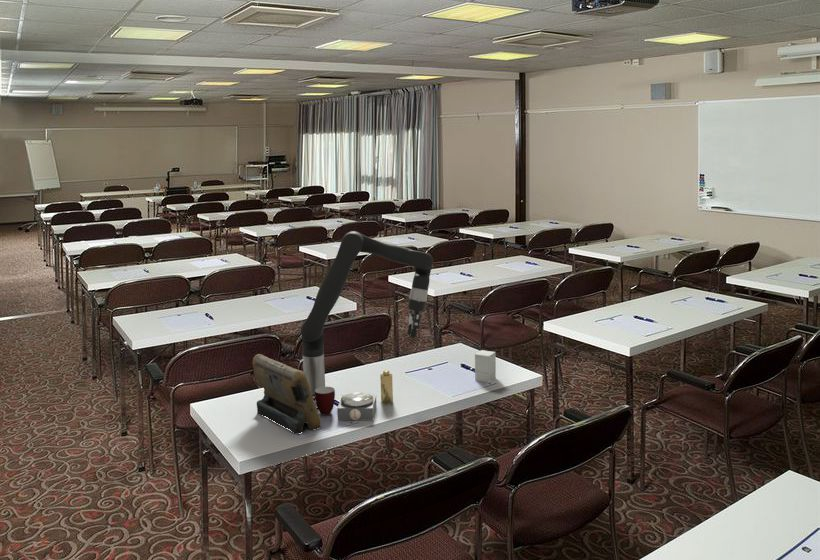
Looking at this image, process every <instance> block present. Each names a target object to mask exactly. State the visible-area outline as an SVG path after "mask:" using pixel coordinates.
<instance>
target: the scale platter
mask: <svg viewBox="0 0 820 560" xmlns="http://www.w3.org/2000/svg"><path fill="white" fill-rule="evenodd" d="M343 395H344V396H343V397H342V396H341V397H340V400H341V403H342V404H343V405H345V406H350V407H361V406H366V405H369V404H371V403H372V402H373V396H372V395H373V394H370V393H367V392H359V391H358V392H350V393H347V394H343Z"/></svg>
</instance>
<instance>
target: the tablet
mask: <svg viewBox="0 0 820 560" xmlns="http://www.w3.org/2000/svg"><path fill="white" fill-rule="evenodd" d="M252 366H253V373H254V376H255V379H256V381H257V384H258V385H259V386H262V387H263V395H264V396H263V397H262V399H259V400H257V401H256V410H257V415H259V414H260V415H259V416H261V415H263V416H266V417H268V418H269V419H271V420H273V421H275V422H276V423H278V424H280V425H282V426H284V427H285V428H288V429H290V430H291V431H292V432H291V431H290V432H291V433H293V432H294V433H293V434H295V433H301V432H303V431H304V428H303V427H304V425H305V424H307V427H308V428H310V429H311V430H313V429H316V430H318V429H317V428H319V429H320V428H322V427H321V423H322V421H321V416H320V414H319V413H320V412H319V410H317V404H316V402H315V401H314V400H313V398H314V395H312V394H311V392H310V386H309V383H308V381H307V378H306V375H305V374H304V373H303V370H299V369H297V368H294V367H293V366H289V365H287V364H285V363H282V362H280V361H278V360H274V359H272V358H269V357H267V356H265V355H264V354H261V353H258V354H256V355H255V356H253V359H252ZM263 416H262V417H263ZM276 423H275V424H276ZM278 424H277V425H278ZM285 428H284V429H285ZM303 433H304V432H303Z"/></svg>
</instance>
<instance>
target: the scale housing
mask: <svg viewBox="0 0 820 560" xmlns="http://www.w3.org/2000/svg"><path fill="white" fill-rule="evenodd" d="M344 395H345V394H343V395H341V398H342V397H343V396H344ZM371 395H372V396H373V402H372V403H371V404H369V405H366V406H361V407H350V406H345V405H343V404H342V403H341V399H340V401H339V403H338V405H337V409H336V410H337V420H338V421H374V418H375V414H376V410H377V394H371Z"/></svg>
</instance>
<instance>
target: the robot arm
mask: <svg viewBox="0 0 820 560" xmlns="http://www.w3.org/2000/svg"><path fill="white" fill-rule="evenodd" d="M359 253H367V254H370V255H375V256H377V257H380V258H383V259H385V260H388V261H391V262H394V263H397V264H403V265H407V266H412V267H413V268H415V269H414V275H413V278H412V284H411V289H410V292H409V297H408V303H407V309H408V310H410V311H409V316H408V319H407V324H408V327H407V332H406V334H407V335H408V336H409V337H410V338H412V339H416V338H417V337H416V336H417V331H418V330H419V328H420V323H421V316H422V315H421V314H420V312H425V311H426V306H427V300H428V294H429V293H428V292H429V287H430V280H431V279H430V278H431V277H430V276H431V272H432V268H433V264H434V258H433V256H432V255H431V254H430V253H427V252H423V251H419V250H413V249H411V248H408V247H405V246H401V245H397V244H393V243H389V242H384V241H381V240H378V239H374V238H372V237H369V236H366V235H364V234H362V233H361V232H359V231H357V230H356V231H355V230H352V231H349V232H347V233H346V234H344V235H343V237H342V239H341V241H340V245H339V248H338V251H337V253H336V256H335V258H334V261H333V262H332V263H331V266H330V267H329V269H328V270H327V272H326V274H325V276H324V278H323V280H322V281H321V284H320V286H319V288H318V291H317V293H316V296H315V300H314V303H313V307H312V309H311V311H310V313H309V314H308V316H307V318H305V320H303V323H302V324H301V325H300V326H301V327H300V335H301V338H302V346H301V347H302V348H301V350H302V352H301V353H302V369H303V370H302V372H303V373H304V374H305V375H306V378H307V381H308V383H309V386H310V392H311V394H312V396H315V389H317V388H319V387H326V376H325V375H326V373H325V353H324V351H325V350H324V348H325V347H324V346H325V341H324V337H325V336H324V326H325V323H326V320H327V319H328V317H329V315H330V312H332V309H333V308H334V306H335V305H336V304H337V302H338V300H339V299H340V297H341V294H342V293H343V289H344V287H345V285H346V283H347V280H348V276H349V272H350V269H351V266H352V265H353V263H354V261H355V260H356V259H357V256H359V255H358V254H359Z"/></svg>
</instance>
